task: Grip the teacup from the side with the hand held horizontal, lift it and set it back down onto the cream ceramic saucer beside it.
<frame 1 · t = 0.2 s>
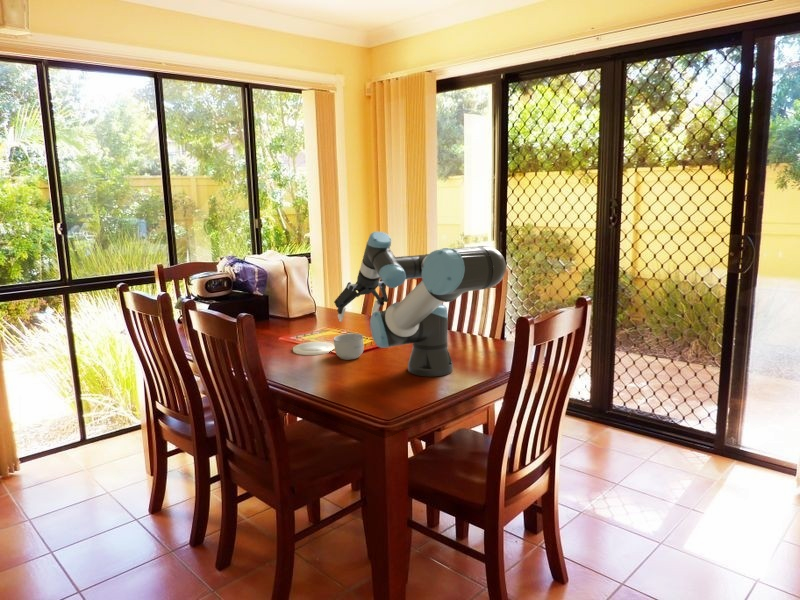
hand: (356, 317, 216), 15 cm above the table, tool tilted 35°, fingers open, 13 cm apart
teacup: (350, 356, 219), on the table
saucer: (314, 349, 228), on the table
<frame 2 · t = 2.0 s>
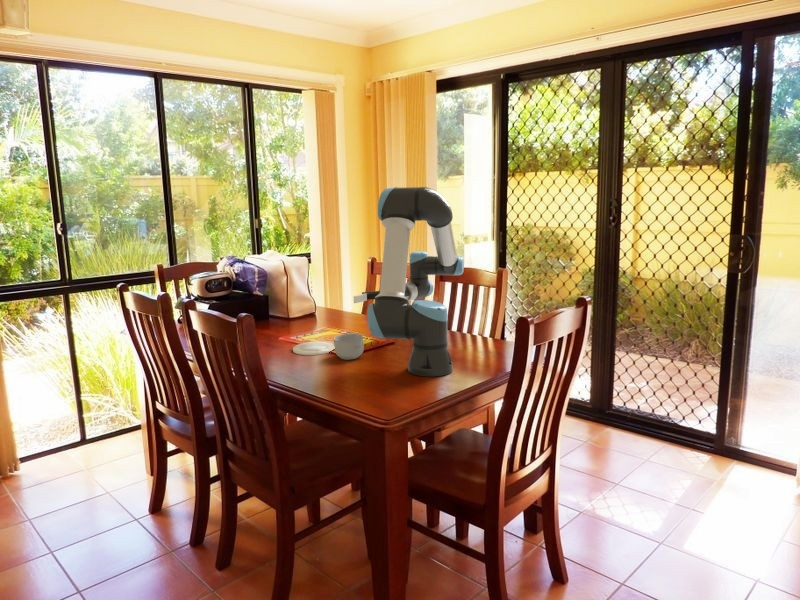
hand: (367, 301, 222), 19 cm above the table, tool horizontal, fingers open, 13 cm apart
nothing on the table moved.
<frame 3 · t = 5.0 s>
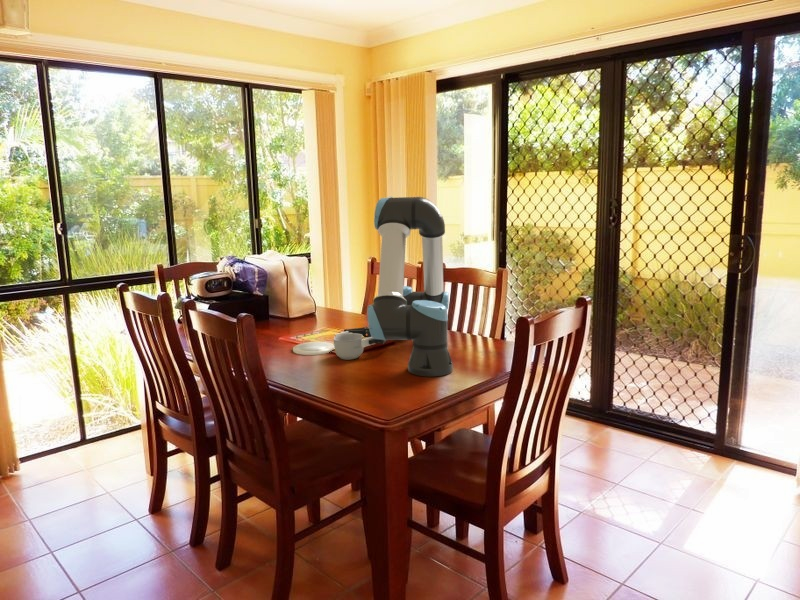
hand: (348, 340, 217), 6 cm above the table, tool horizontal, fingers open, 13 cm apart
nothing on the table moved.
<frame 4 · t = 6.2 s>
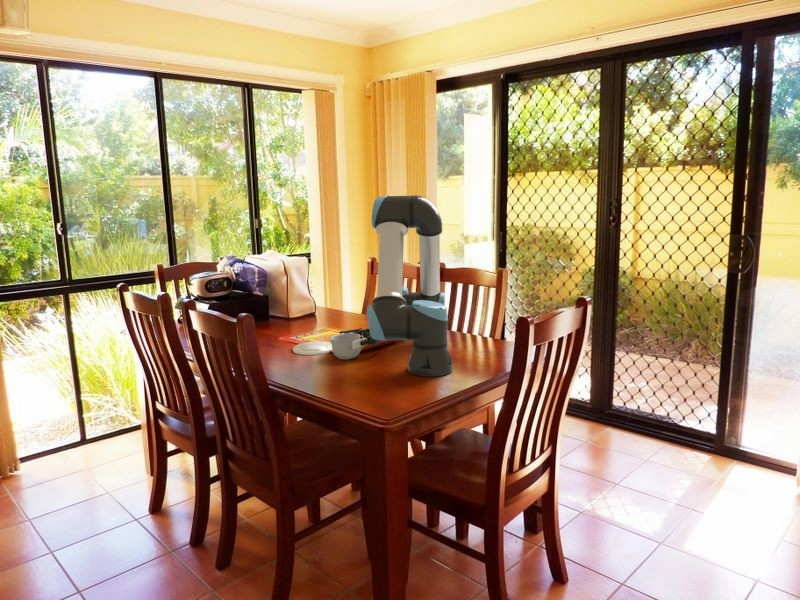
hand: (341, 342, 214), 6 cm above the table, tool horizontal, fingers closed on teacup, 11 cm apart
teacup: (348, 356, 218), on the table, touching gripper
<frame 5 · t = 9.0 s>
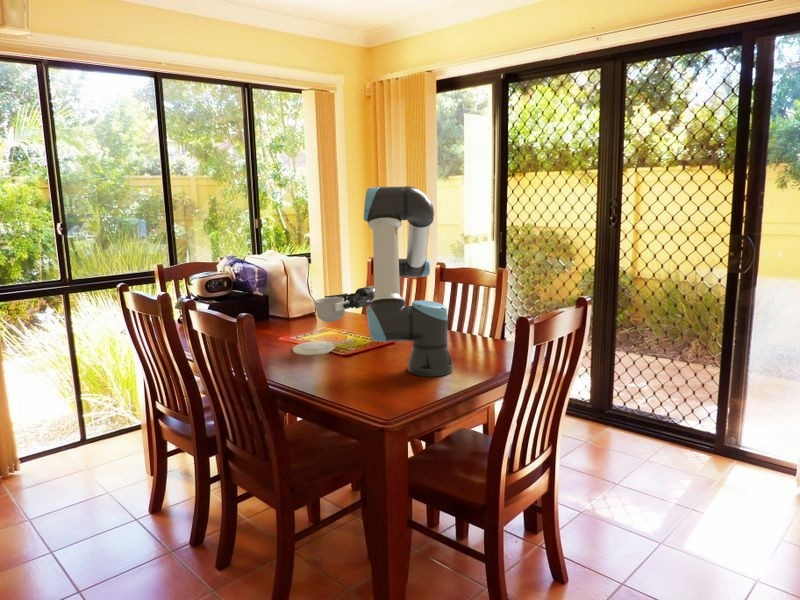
hand: (325, 305, 218), 19 cm above the table, tool horizontal, fingers closed on teacup, 11 cm apart
teacup: (332, 319, 222), point 12 cm above the table, touching gripper
when the fingers open (8 cm above the table, at t = 12.2 s): teacup drops 1 cm, resting on saucer.
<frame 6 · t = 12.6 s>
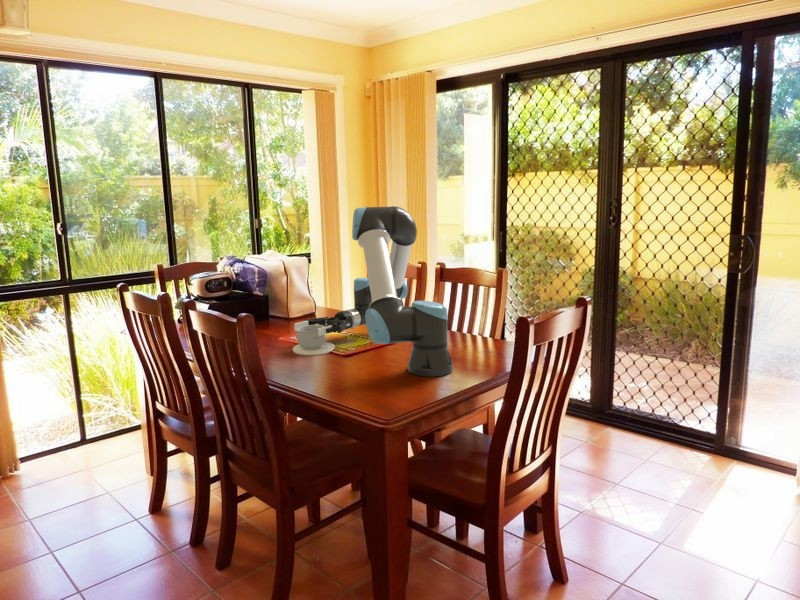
hand: (306, 329, 224), 8 cm above the table, tool horizontal, fingers open, 13 cm apart
teacup: (313, 347, 228), point 1 cm above the table, touching saucer
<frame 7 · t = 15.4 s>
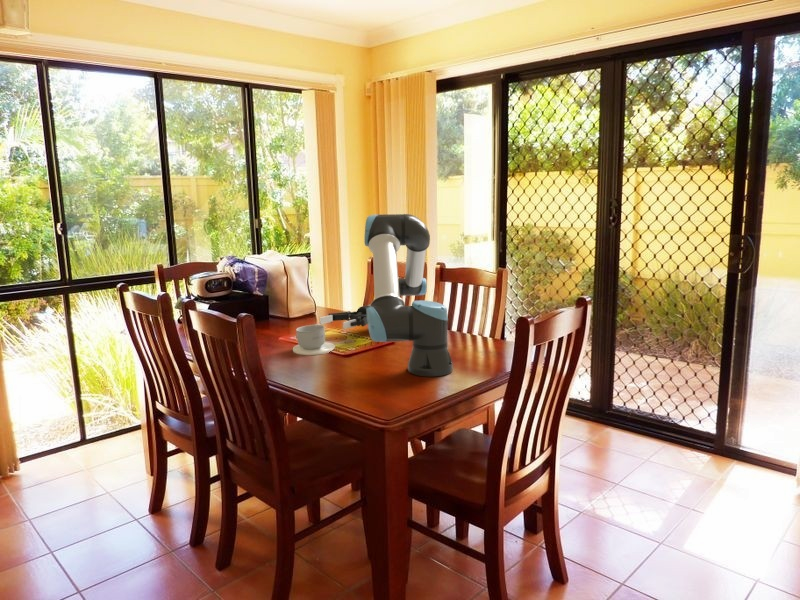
hand: (331, 323, 234), 9 cm above the table, tool horizontal, fingers open, 13 cm apart
nothing on the table moved.
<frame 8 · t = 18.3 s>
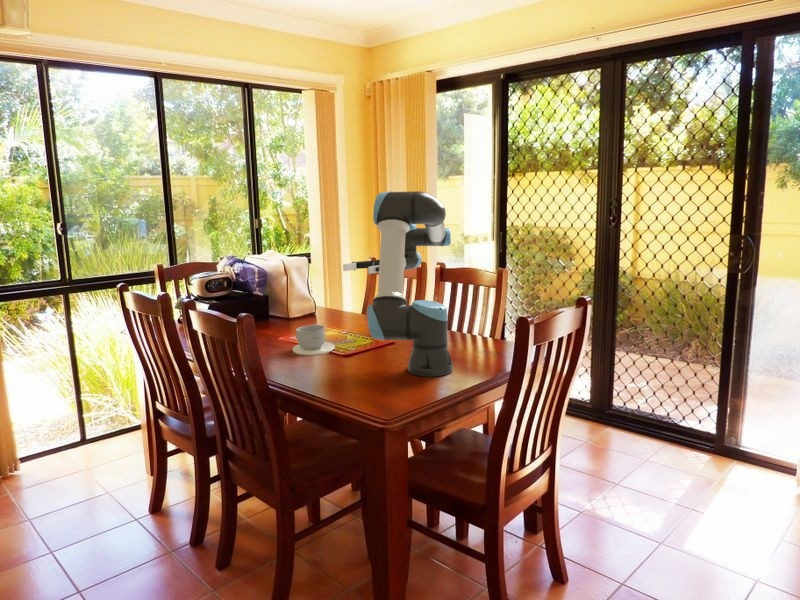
hand: (356, 269, 230), 30 cm above the table, tool horizontal, fingers open, 13 cm apart
nothing on the table moved.
at the end: teacup 0.3 cm from the saucer (horizontally); teacup touching saucer; teacup tilted 0° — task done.
